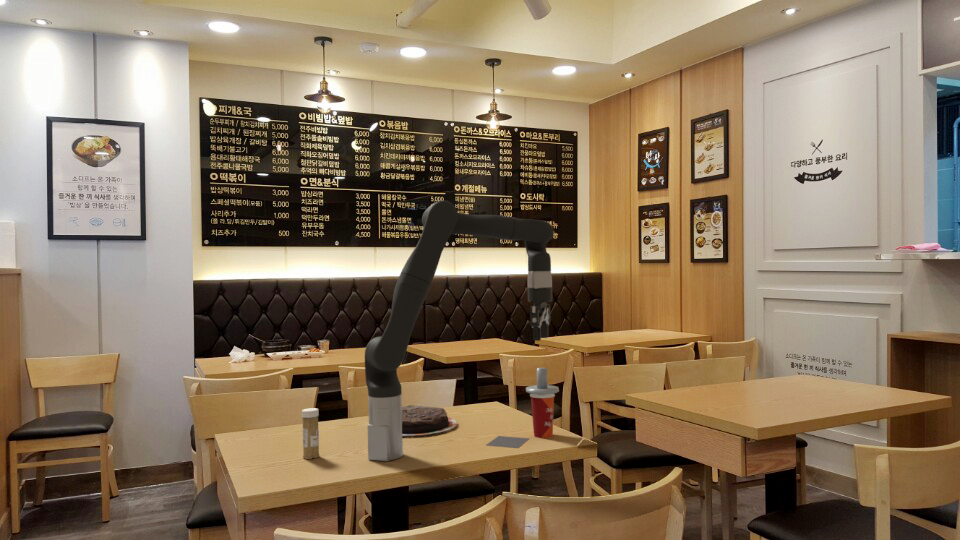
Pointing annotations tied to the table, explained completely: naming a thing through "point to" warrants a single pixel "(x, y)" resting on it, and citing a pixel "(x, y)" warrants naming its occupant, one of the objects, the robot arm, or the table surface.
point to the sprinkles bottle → (310, 433)
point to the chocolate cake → (425, 421)
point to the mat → (507, 442)
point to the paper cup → (542, 414)
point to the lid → (542, 384)
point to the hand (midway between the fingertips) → (540, 339)
